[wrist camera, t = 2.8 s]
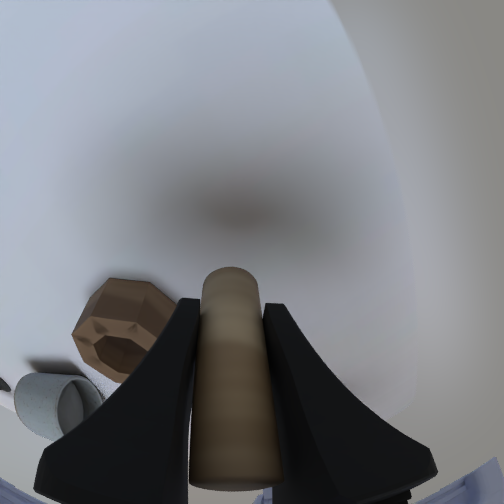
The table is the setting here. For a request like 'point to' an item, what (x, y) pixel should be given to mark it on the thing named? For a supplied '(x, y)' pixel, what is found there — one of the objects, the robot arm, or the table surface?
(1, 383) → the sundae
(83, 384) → the ceramic mug
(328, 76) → the table surface
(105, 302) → the bead
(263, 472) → the dowel
